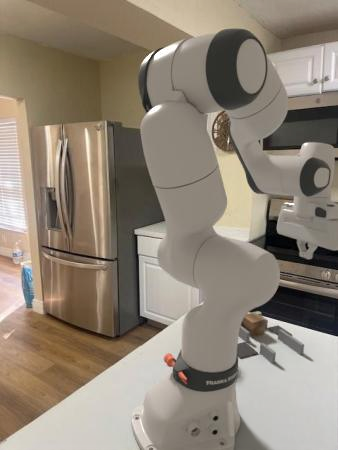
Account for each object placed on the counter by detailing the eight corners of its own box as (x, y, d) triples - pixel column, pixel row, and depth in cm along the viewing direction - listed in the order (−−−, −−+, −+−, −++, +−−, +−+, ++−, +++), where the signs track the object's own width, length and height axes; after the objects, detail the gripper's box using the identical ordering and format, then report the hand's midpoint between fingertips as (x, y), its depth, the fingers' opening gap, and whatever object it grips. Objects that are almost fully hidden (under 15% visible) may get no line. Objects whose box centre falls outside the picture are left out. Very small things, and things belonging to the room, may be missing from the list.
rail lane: (271, 363, 89) (273, 349, 88) (229, 328, 106) (230, 317, 105) (303, 354, 93) (304, 341, 92) (257, 322, 111) (258, 311, 110)
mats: (240, 358, 91) (240, 357, 91) (220, 340, 100) (220, 339, 100) (301, 341, 100) (301, 340, 100) (278, 326, 108) (278, 325, 108)
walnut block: (250, 337, 101) (252, 322, 100) (241, 329, 106) (242, 315, 105) (264, 334, 103) (265, 319, 102) (253, 326, 108) (255, 312, 107)
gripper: (273, 201, 95) (269, 248, 98) (336, 213, 77) (329, 271, 80) (290, 200, 98) (286, 246, 100) (354, 212, 80) (347, 267, 82)
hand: (305, 257), depth 90 cm, fingers closed
